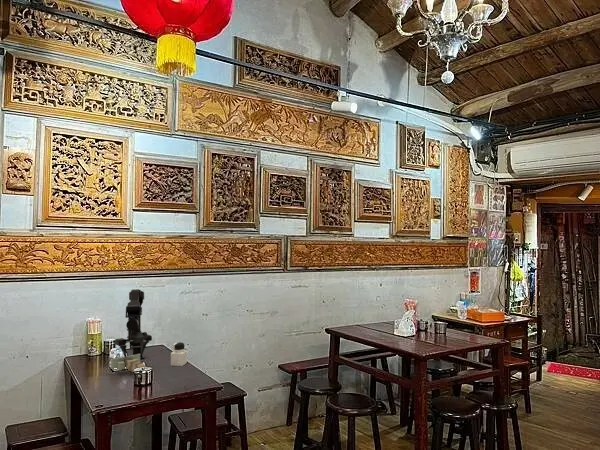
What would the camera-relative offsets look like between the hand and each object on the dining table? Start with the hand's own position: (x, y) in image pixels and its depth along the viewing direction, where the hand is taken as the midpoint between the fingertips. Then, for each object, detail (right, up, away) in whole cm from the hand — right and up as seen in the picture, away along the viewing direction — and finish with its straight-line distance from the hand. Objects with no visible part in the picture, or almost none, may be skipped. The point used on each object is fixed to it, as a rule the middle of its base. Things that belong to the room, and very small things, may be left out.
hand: (133, 355), depth 262 cm
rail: (0, -8, 0) cm, 8 cm away
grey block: (-6, -8, +6) cm, 12 cm away
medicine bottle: (+21, -8, +12) cm, 26 cm away
